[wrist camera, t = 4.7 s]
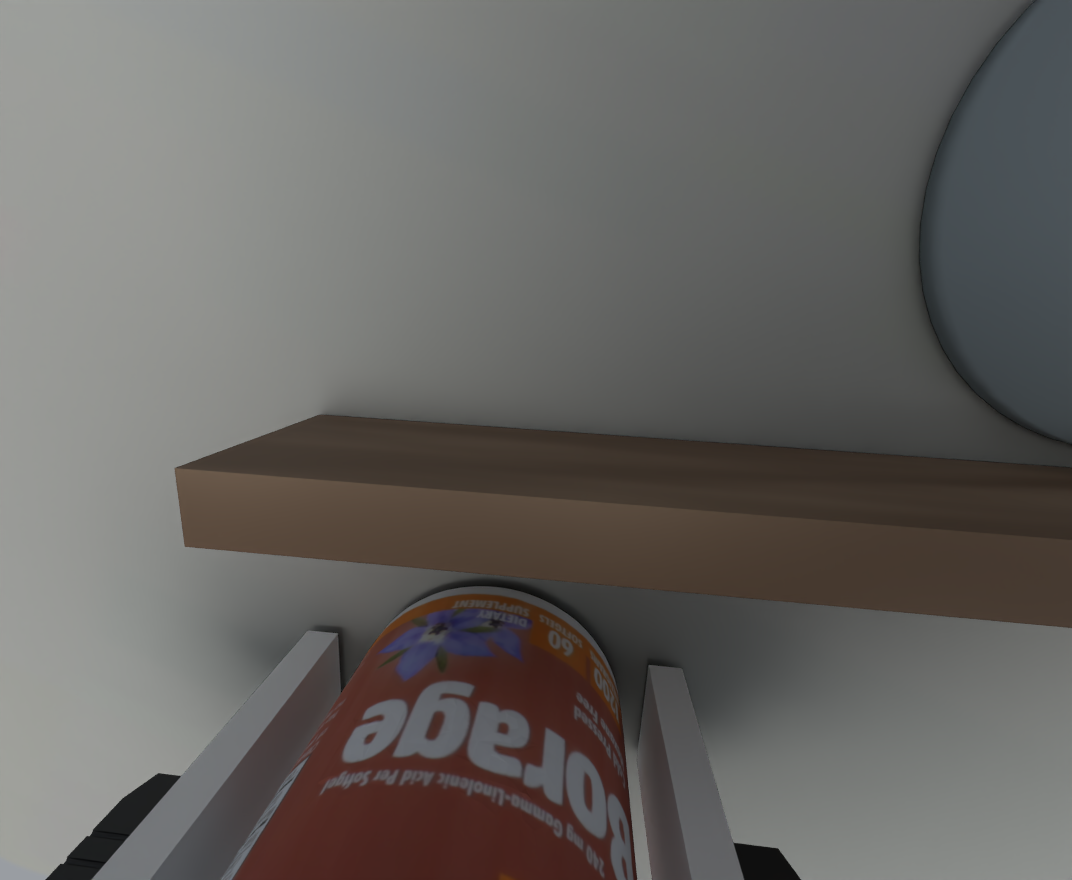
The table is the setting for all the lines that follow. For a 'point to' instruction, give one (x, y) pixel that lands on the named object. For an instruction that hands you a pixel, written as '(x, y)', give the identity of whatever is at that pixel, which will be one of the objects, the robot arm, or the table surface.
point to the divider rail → (648, 515)
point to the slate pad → (1009, 226)
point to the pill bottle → (460, 756)
